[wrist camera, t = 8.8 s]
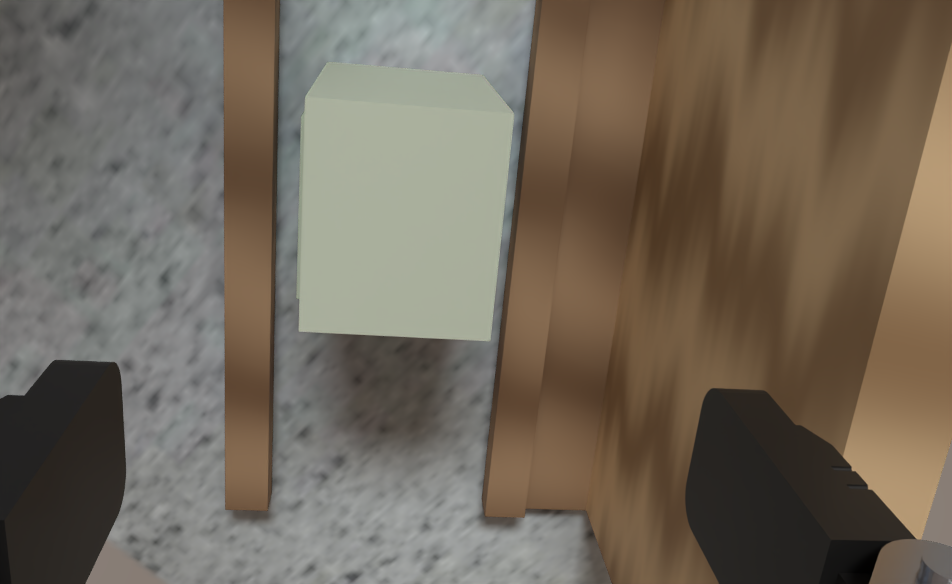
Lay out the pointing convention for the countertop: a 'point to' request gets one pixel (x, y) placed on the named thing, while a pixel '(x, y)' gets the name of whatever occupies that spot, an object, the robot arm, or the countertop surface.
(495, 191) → the pale green box
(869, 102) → the brown wooden rack
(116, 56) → the countertop surface
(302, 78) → the countertop surface
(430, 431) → the countertop surface
